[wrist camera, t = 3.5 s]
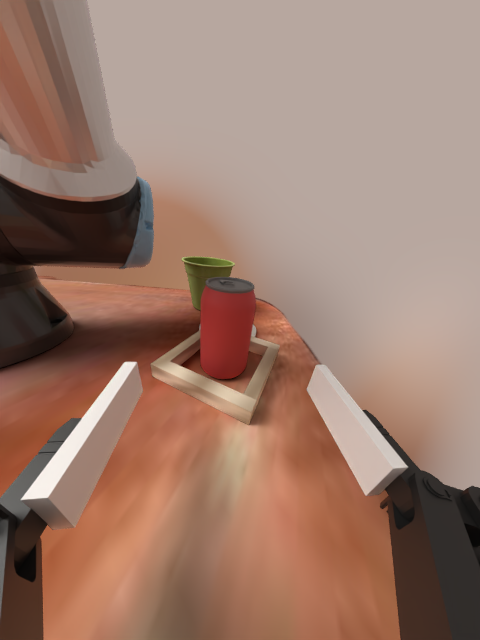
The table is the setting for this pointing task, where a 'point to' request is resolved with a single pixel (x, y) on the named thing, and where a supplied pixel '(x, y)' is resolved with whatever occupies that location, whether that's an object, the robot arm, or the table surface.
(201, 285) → the plant pot
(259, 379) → the frame
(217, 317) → the beer can
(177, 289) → the table surface
